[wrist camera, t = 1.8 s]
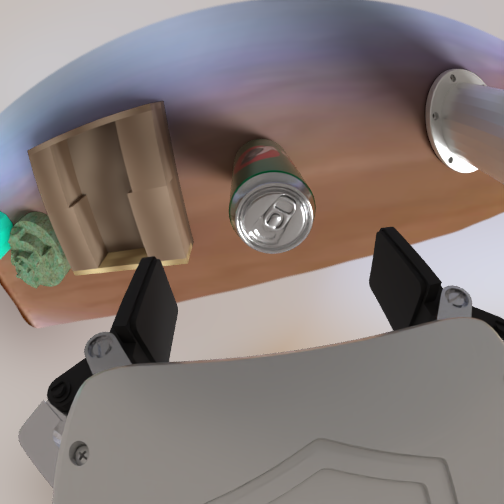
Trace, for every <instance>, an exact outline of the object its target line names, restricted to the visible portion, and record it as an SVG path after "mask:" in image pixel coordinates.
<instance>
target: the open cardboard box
mask: <svg viewBox="0 0 504 504" xmlns="http://www.w3.org/2000/svg"><path fill="white" fill-rule="evenodd" d="M28 155H29V159H30V163H31V166H32V170H33V173H34V176H35V179H36V183H37V186H38V189H39V192H40V195H41V198H42V200H43V203H44V206H45V209H46V211H47V214H48V216H49V219H50V222H51V224H52V226H53V229H54V231H55V234H56V236H57V238H58V241H59V243H60V245H61V247H62V249H63V252H64V254H65V256H66V258H67V260H68V262H69V264H70V266H71V268H72V270H73V272H74V274H75V275H85V274H94V273H104V272H113V271H123V270H132V269H137V267H138V265H139V263H140V260H141V259H142V258H144V257H152V256H155V257H156V258H157V259H160V260H161V263H162V265H163V266H169V265H178V264H187V263H188V260H189V257H190V253H191V249H192V246H193V242H194V241H193V237H192V233H191V229H190V225H189V221H188V217H187V213H186V209H185V205H184V200H183V196H182V192H181V187H180V183H179V178H178V174H177V169H176V164H175V159H174V155H173V150H172V145H171V140H170V134H169V129H168V124H167V118H166V113H165V107H164V101H161V102H155V103H149V104H146V105H142V106H139V107H135V108H132V109H128V110H125V111H122V112H119V113H116V114H113V115H110V116H107V117H104V118H101V119H98V120H96V121H93V122H90V123H88V124H85V125H83V126H80V127H78V128H75V129H73V130H70V131H68V132H66V133H63V134H61V135H59V136H57V137H54V138H52V139H50V140H48V141H46V142H44V143H42V144H40V145H38V146H36V147H34V148H32V149H30V150H28Z"/></svg>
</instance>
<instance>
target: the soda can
mask: <svg viewBox="0 0 504 504" xmlns="http://www.w3.org/2000/svg"><path fill="white" fill-rule="evenodd" d="M315 210H316V207H315V200H314V196H313V194H312V192H311V190H310V188H309V187H308V185H307V184H306V182H305V180H304V179H303V177H302V176H301V174H300V173H299V171H298V170H297V168H296V167H295V165H294V164H293V162H292V161H291V159H290V158H289V156H288V155H287V154H286V152H285V151H284V149H283V148H282V147H281V146H280V145H279V144H277V143H276V142H274V141H271V140H268V139H256V140H252V141H249V142H248V143H246V144H244V145H243V146H242V147H241V148H240V149H239V151H238V152H237V154H236V156H235V159H234V166H233V175H232V184H231V194H230V204H229V218H230V222H231V225H232V227H233V229H234V230H235V232H236V233H237V235H238V236H239V237H240V238H241V239H242V240H243V241H244V242H245V243H246V244H247V245H248V246H250V247H251V248H253V249H255V250H257V251H260V252H264V253H271V254H272V253H282V252H285V251H289V250H291V249H293V248H295V247H296V246H298V245H299V244H300V243H301V242H302V241H303V240H304V239H305V238H306V237H307V235H308V234H309V232H310V230H311V227H312V224H313V220H314V217H315Z"/></svg>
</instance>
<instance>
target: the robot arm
mask: <svg viewBox="0 0 504 504" xmlns="http://www.w3.org/2000/svg"><path fill="white" fill-rule="evenodd" d="M425 117H426V128H427V132H428V137H429V140H430V143H431V145H432V148H433V150H434V152H435V153H436V155H437V156H438V158H439V159H440V160H441V161H442V162H443V163H444V164H445V165H446V166H447V167H449V168H451V169H453V170H454V171H457V172H460V173H470V172H474V171H476V170H477V169H479V170H481V171H482V172H484V173H486V174H488V175H489V176H491V177H493V178H494V179H496V180H498V181H499V182H501V183H502V184H504V90H502V89H498V88H493V87H488V86H486V84H485V83H484V82H483V81H482V80H481V79H480V78H479V77H478V76H477V75H476V74H474V73H472V72H470V71H468V70H464V69H450V70H447V71H445V72H443V73H441V74H440V75H439V76H438V77H437V78H436V79H435V81H434V83H433V84H432V86H431V88H430V91H429V94H428V97H427V103H426V116H425ZM441 283H442V282H441V281H440V280H439V278H438V277H437V276H436V275H435V273H434V272H433V271H432V270H431V268H430V267H429V266H428V265H427V264H426V263H425V261H424V260H423V259H422V258H421V257H420V256H419V254H418V253H417V252H416V251H415V250H414V249H413V248H412V246H411V245H410V244H409V243H408V242H407V241H406V240H405V239H404V238H403V236H402V235H401V234H400V233H399V232H398V231H397V230H396V229H395V228H394V227H386V228H381V229H380V231H379V232H377V234H376V241H375V248H374V255H373V261H372V267H371V273H370V279H369V284H370V287H371V290H372V291H373V293H374V295H375V297H376V299H377V300H378V302H379V304H380V306H381V308H382V310H383V312H384V313H385V315H386V317H387V319H388V321H389V323H390V325H391V327H392V329H393V331H391V332H387V333H383V334H379V335H375V336H370V337H365V338H361V339H356V340H351V341H346V342H341V343H336V344H330V345H325V346H319V347H314V348H307V349H301V350H294V351H287V352H281V353H273V354H265V355H256V356H247V357H237V358H226V359H213V360H198V361H182V362H169V357H170V351H171V346H172V341H173V335H174V330H175V324H176V320H177V314H178V307H177V304H176V301H175V298H174V296H173V293H172V290H171V288H170V285H169V282H168V280H167V277H166V274H165V271H164V268H163V265H162V263H161V260H160V259H157V258H156V257H155V256H152V257H144V258H142V259H141V260H140V263H139V265H138V267H137V269H136V271H135V273H134V276H133V278H132V280H131V282H130V285H129V287H128V289H127V291H126V293H125V295H124V298H123V300H122V303H121V305H120V307H119V310H118V312H117V315H116V317H115V320H114V322H113V325H112V328H111V330H110V332H102V333H98V334H96V335H94V336H93V337H92V338H90V340H89V341H88V342H87V344H86V346H85V349H84V353H85V357H86V358H85V359H83V360H82V361H80V362H79V363H78V364H76V365H75V366H73V367H72V368H71V369H69V370H68V371H66V372H65V373H64V374H62V375H61V376H59V377H58V378H56V379H55V380H54V381H53V382H52V383H51V385H50V386H49V389H48V393H47V397H48V401H47V402H45V401H42V402H41V404H40V405H39V406H38V407H37V409H36V410H35V411H34V412H33V413H32V415H31V416H30V417H29V418H28V420H27V421H26V422H25V423H24V425H23V426H22V427H21V429H20V431H19V442H20V445H21V446H22V447H23V449H24V451H25V452H26V454H27V455H28V456H29V458H30V459H31V460H32V462H33V463H34V465H35V466H36V467H37V469H38V470H39V471H40V473H41V474H42V475H43V477H44V478H45V479H46V480H47V481H48V483H49V484H50V485H51V486H52V487H53V502H52V504H504V319H502V318H500V317H498V316H495V315H493V314H490V313H488V312H485V311H483V310H480V309H478V308H475V307H473V306H472V300H471V297H470V295H469V294H468V293H467V292H466V291H465V290H464V289H462V288H460V287H457V286H447V287H445V288H444V289H443V288H442V287H441Z"/></svg>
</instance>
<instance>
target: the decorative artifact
mask: <svg viewBox="0 0 504 504" xmlns="http://www.w3.org/2000/svg"><path fill="white" fill-rule="evenodd" d="M8 243H9V244H10V247H11V253H12V255H11V262H12V265H15V266H16V271H17V273H18V274H17V275H16V277H17V278H20V279H22V280H23V281H24V282H26V283H27V284H28V285H30V286H32V287H34V288H38V286H39V285H40V284H41V285H44V286H56V285H58V284H59V283H60V282H61V281H62V280H63V278H64V277H65V275H66V274H67V272H68V271H69V270H70V268H71V266H70V264H69V262H68V260H67V258H66V256H65V254H64V252H63V249H62V247H61V245H60V243H59V241H58V238H57V236H56V234H55V231H54V229H53V226H52V224H51V222H50V219H49V216H48V215H46V214H44V213H41V212H30V213H28V214H26V215H25V216H24V217H23V218H22V219H21V220H19V221H18V222H17V223H16V224H15V225H14V226H13V228H12V230H11V232H10V239H9V241H8Z"/></svg>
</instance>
